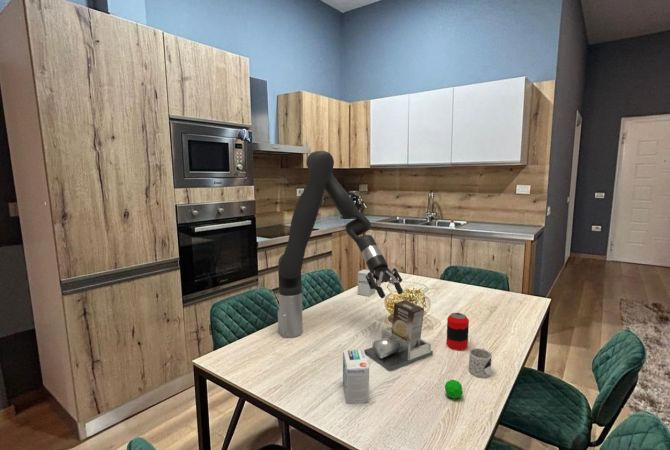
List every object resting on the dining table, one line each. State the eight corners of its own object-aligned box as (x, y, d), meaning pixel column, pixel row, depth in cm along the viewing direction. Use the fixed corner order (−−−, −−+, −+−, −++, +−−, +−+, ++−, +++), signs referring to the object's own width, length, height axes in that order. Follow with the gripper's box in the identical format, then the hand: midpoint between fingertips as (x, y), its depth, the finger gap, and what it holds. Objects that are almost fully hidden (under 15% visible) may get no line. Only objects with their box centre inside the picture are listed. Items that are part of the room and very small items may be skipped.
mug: (488, 380, 111) (489, 360, 110) (466, 374, 115) (467, 355, 114) (493, 366, 120) (494, 347, 119) (472, 360, 123) (473, 342, 122)
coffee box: (389, 343, 130) (393, 302, 128) (400, 339, 134) (404, 299, 132) (408, 355, 123) (413, 311, 121) (420, 350, 127) (425, 307, 125)
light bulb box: (342, 382, 111) (342, 350, 109) (363, 381, 111) (363, 349, 110) (346, 404, 100) (346, 368, 99) (369, 403, 101) (370, 367, 99)
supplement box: (357, 294, 192) (357, 272, 190) (363, 290, 198) (363, 268, 196) (369, 297, 188) (369, 273, 186) (375, 293, 194) (375, 270, 192)
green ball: (458, 391, 106) (459, 376, 105) (465, 401, 101) (465, 386, 100) (442, 391, 106) (442, 376, 105) (447, 402, 101) (448, 386, 100)
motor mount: (389, 371, 117) (390, 350, 116) (364, 353, 128) (364, 334, 127) (432, 355, 127) (433, 335, 126) (405, 340, 139) (405, 321, 138)
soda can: (467, 343, 136) (468, 313, 134) (467, 352, 129) (469, 320, 127) (446, 340, 139) (447, 310, 137) (446, 349, 132) (447, 318, 130)
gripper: (364, 256, 135) (382, 293, 127) (392, 252, 142) (411, 287, 134) (355, 266, 140) (372, 303, 132) (383, 262, 147) (401, 296, 139)
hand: (392, 295), depth 133 cm, fingers open, 8 cm apart
